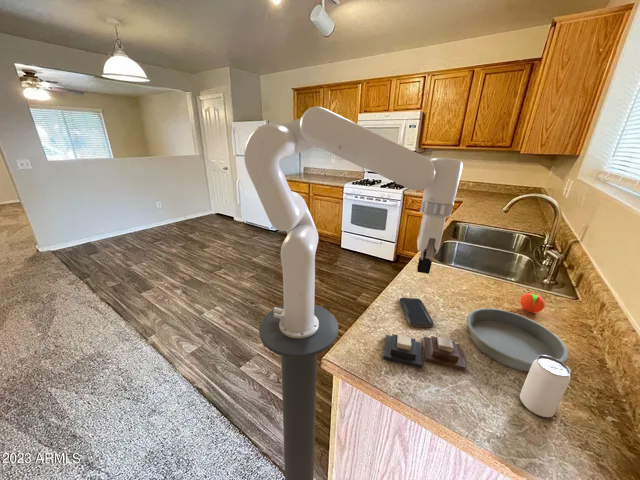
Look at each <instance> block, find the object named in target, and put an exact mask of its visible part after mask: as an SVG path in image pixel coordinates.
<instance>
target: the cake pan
mask: <svg viewBox="0 0 640 480" xmlns="http://www.w3.org/2000/svg"><path fill="white" fill-rule="evenodd" d="M466 324H467V326H468V328H469V336H470V338H471V340H472V342H473V343H474V344H475V346H476V347H477V348H478V349H479V350H481V351H482V352H483V353H484V354H485V355H487V356H488V357H490V358H491V359H492V360H494V361H496V362H498V363H501V364H502V365H505V366H507V367H510V368H513V369H514V370H517V371H522V372H527V373H529V370H530V368H531V365H532V363H533V361H534V360H536V359H537V357H538V356H541V355H545V356H550V357H553V358H555V359H557V360H559V361H561V362H562V363H564V364H565V362H566V361H567V360H568V358H569V351H568V348H567V346H566V344H565V342H563V341H562V339H561V338H560V337H559V336H557V335H556V334H555V332H553V331H551V330H550V329H548V328H547V327H545V326H544V325H542V324H540V323H539V322H537V321H535V320H534V319H531V318H529V317H527V316H524V315H522V314H519V313H516V312H512V311H508V310H506V309H505V310H504V309H500V308H493V307H492V308H491V307H489V308H477V309H475V310H471V312H469V313H468V315H467V316H466Z"/></svg>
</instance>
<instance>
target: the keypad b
mask: <svg viewBox="0 0 640 480" xmlns="http://www.w3.org/2000/svg"><path fill="white" fill-rule="evenodd" d="M437 338H438V336H434V335H430V337H427V336H423V338H422V342H423V343H422V344H423V356H424V362H426V363H430V364H434V365H438V366H444V367H447V368H451V369H456V370H460V371H466V363H465V359H464V356H463V351H462V348H461V345H460V343H456V340H454V339H451V340H452V344H453V351H452V352H447V351H443V350H438V346H437Z"/></svg>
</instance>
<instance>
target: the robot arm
mask: <svg viewBox="0 0 640 480" xmlns="http://www.w3.org/2000/svg"><path fill="white" fill-rule="evenodd" d="M314 148H320V149H322V150H324V151H326V152H329V153H331V154H333V155H335V156H336V157H340V158H341V159H344V160H345V161H348V162H350V163H352V164H353V165H355V166H358V167H360V168H363V169H366V170H368V171H370V172H373V173H375V174H376V175H379V176H381V177H383V178H385V179H388V181H392V182H394V183H396V184H398V185H400V186H402V187H404V188H407V189H408V190H411V191H422V190H423V195H422V199H421V203H420V204H421V205H420V209H419V212H420V213H421V214H423V215H422V218H421V222H420V227H419V231H418V235H417V239H416V246H417V251H418V252H420V255H419V257H418V262H417V267H416V272H417V273H421V274H427V275H428V274H429V275H430V272H431V268H432V264H433V257H434V255H437V254H438V253H439V252H440V251H439V250H440V247H441V243H442V238H443V233H444V230H445V224H446V219H447V218H451V217H452V215H453V209H454V205H455V200H456V196H457V192H458V187H459V184H460V179H461V176H462V171H463V166H464V164H463V161H462V160H460V159H458V158H451V157H433V158H432V157H426V156H424V155H422V154H420V153H418V152H416V151H414V150H412V149H409V148H408V147H406V146H403V145H401V144H399V143H397V142H396V141H392V140H391V139H389V138H386V137H384V136H382V135H381V134H379V133H377V132H375V131H373V130H371V129H369V128H367V127H365V126H363V125H360V124H359V123H356V122H354V121H352V120H350V119H348V118H347V117H346V118H345V117H344V116H342V115H340V114H337V113H335V112H333V111H331V110H329V109H327V108H324V107H322V106H311V107H308V108H307V109H306V110H305V111H304V113H303V114H302V115H301V117H299V118H297V119H295V120H292V121H290V122H287V123H284V124H281V125H280V124H277V123H266V124H262V125H260V126H258V127H257V128H256V129H254V131H253V132H252V133H251V134H250V135H249V137H248V139H247V142H246V143H245V147H244V153H243V161H244V165H245V168H246V172H247V174H248V176H249V178H250V181H251V182H252V185H253V187H254V189H255V191H256V194H257V196H258V199H259V201H260V203H261V205H262V207H263V209H264V212H265V214H266V216H267V218H268V220H269V222H270V225H271V226H272V227H273V228H274V229H276V230H277V231H280V232H286V234H287V235H286V237H285V238H284V240H283V242H282V244H281V247H280V261H281V268H282V285H283V287H282V288H283V290H282V291H283V305H284V309H280V308H277V307H278V306H277V307H276V306H274V308H273V309H274V310H273V309H272V310H273V313H274V316H273V317H274V318H280V323H279V327H280V330H281V332H282V333H283V334H284V335H286V336H288V337H291V338H297V339H299V338H306V337H309V336H311V335H313V334H314V333H315V332H316V331H317V330H318V327H319V321H318V319H317V317H316V316H315V315H314V305H315V295H316V294H315V293H316V291H315V290H316V252H317V248H318V244H319V237H320V236H319V233H318V229H317V227H316V224H315V222H314V219H313V217H312V214H311V212H310V209H309V208H308V205H307V203H306V201H305V199H304V197H303V196H301V194H299V193H297V192H296V191H292V190H291V188H290V185H289V183H288V180H287V178H286V176H285V174H284V172H283V171H282V169H281V166H280V161H281V160H283V159H287V158H290V157H293V156H295V155H298V154H300V153H303V152H306V151H309V150H311V149H314ZM280 314H281V315H280Z"/></svg>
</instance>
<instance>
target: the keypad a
mask: <svg viewBox="0 0 640 480" xmlns="http://www.w3.org/2000/svg"><path fill="white" fill-rule="evenodd" d="M398 335H399V334H394V333H392V334H391V335H388V334H386V335H385V339H384V347H383V348H384V349H383V355H382V357H383V358H382V359H383V360H384V361H389V362H392V363H397V364H401V365H405V366H408V367H414V368H417V369H422V368H423V358H422V343H421V341H420V342H419V341H416V338H413V337H411V349H410V351H409V350H405V349H401V348H397V337H398Z"/></svg>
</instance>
